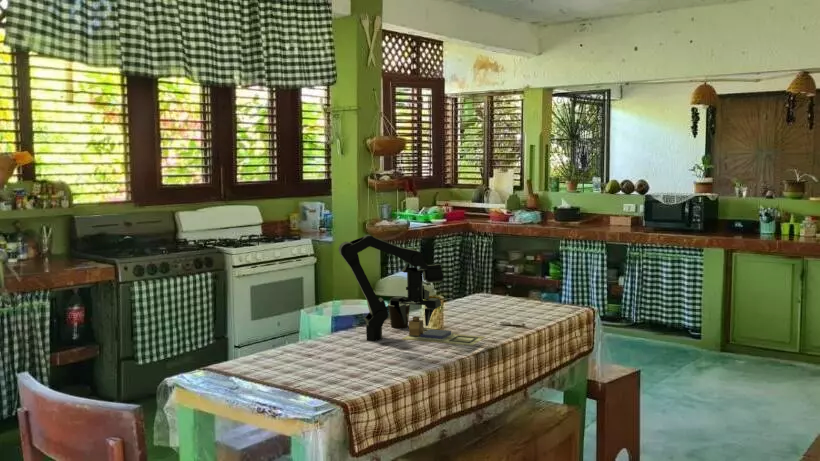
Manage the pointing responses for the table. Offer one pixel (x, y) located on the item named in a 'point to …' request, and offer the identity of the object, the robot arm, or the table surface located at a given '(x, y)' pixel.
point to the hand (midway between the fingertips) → (415, 324)
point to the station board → (453, 339)
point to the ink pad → (436, 335)
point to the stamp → (415, 327)
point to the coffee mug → (398, 317)
